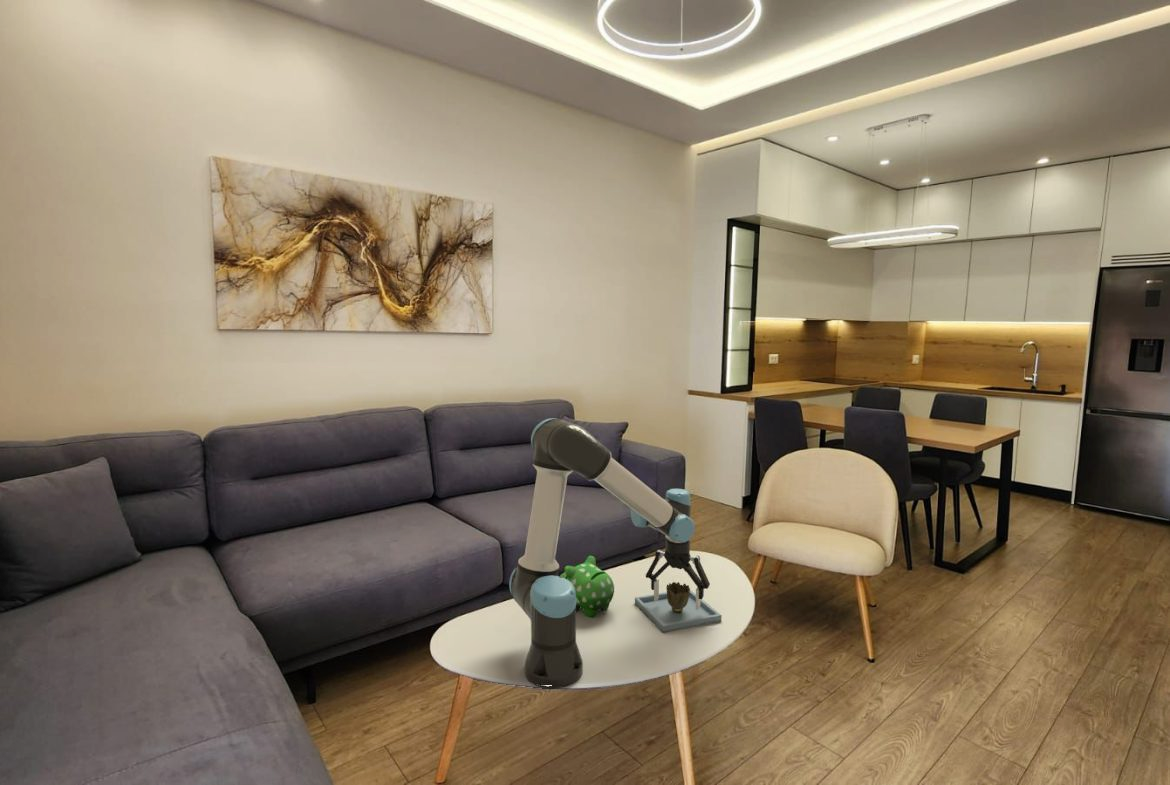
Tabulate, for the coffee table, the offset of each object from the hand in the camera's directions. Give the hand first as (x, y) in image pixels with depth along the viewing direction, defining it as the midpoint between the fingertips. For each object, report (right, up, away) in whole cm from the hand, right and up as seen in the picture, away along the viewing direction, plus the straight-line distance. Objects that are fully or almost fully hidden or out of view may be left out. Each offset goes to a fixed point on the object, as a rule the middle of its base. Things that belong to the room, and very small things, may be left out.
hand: (676, 603), depth 182 cm
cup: (0, -2, 0) cm, 2 cm away
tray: (0, -3, 0) cm, 3 cm away
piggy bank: (-29, -3, +3) cm, 29 cm away
